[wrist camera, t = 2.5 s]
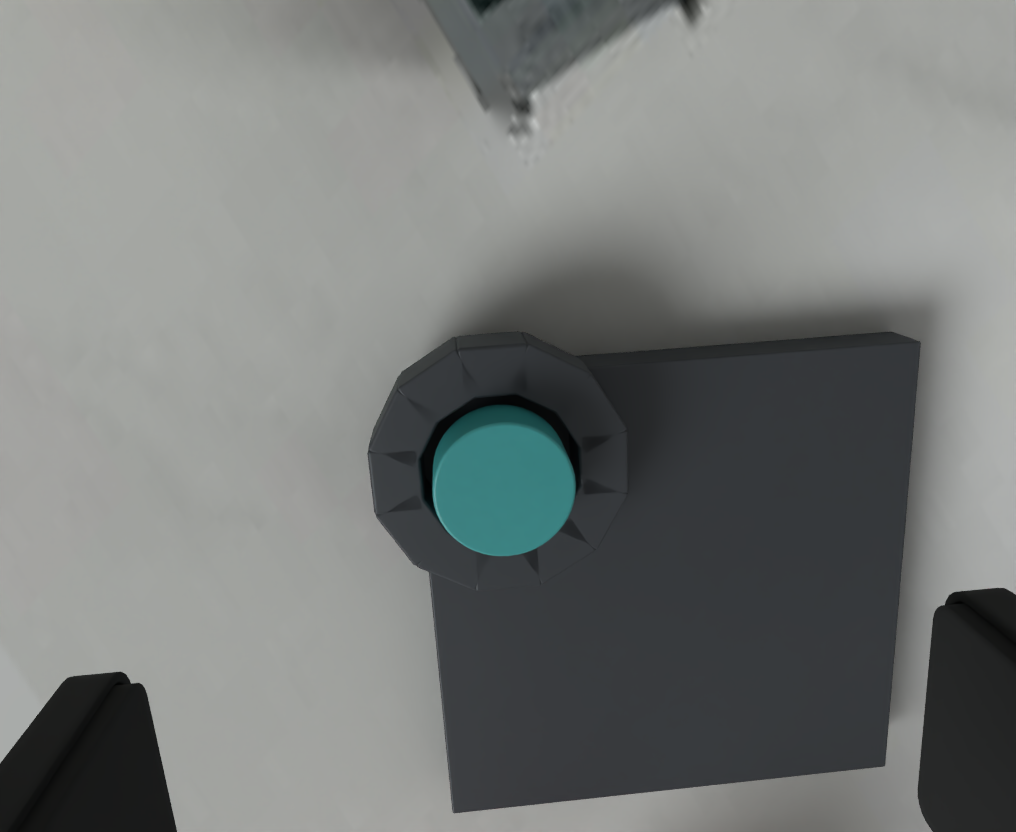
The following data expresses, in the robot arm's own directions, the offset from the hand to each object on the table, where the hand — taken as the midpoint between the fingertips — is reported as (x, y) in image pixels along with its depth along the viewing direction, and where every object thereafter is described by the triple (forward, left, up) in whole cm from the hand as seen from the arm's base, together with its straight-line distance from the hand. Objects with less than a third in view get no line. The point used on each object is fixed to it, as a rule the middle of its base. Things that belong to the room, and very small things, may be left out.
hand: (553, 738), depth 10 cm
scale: (+5, -5, -13) cm, 15 cm away
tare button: (0, 0, -10) cm, 10 cm away
